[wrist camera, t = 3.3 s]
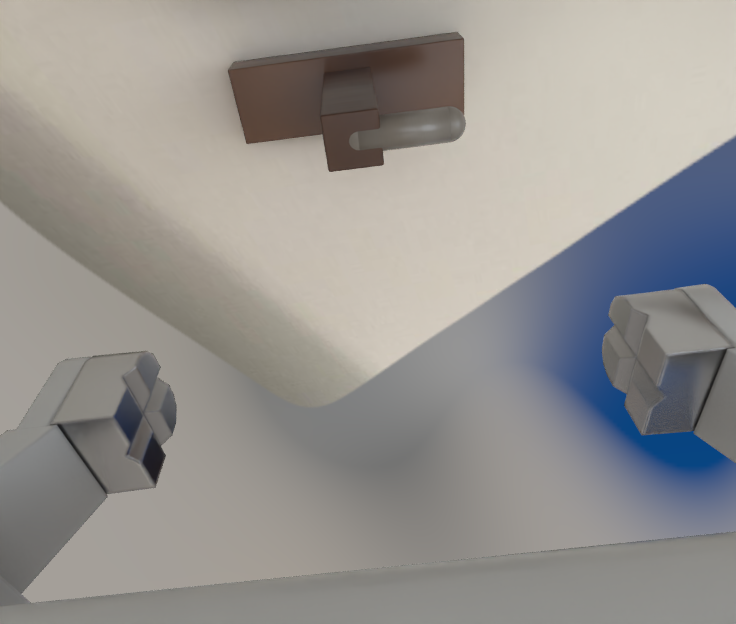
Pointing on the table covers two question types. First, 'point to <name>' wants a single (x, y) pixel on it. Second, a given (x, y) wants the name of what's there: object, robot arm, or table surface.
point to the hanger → (356, 97)
